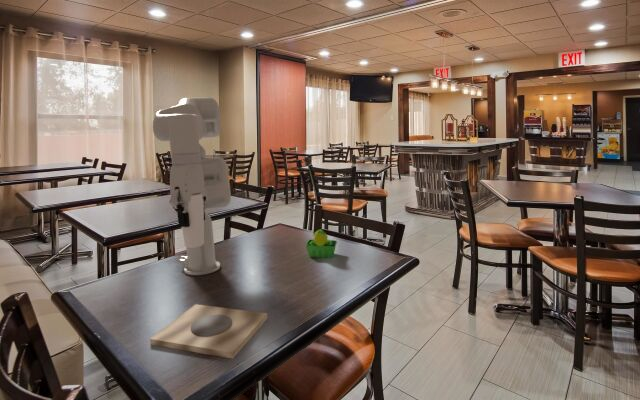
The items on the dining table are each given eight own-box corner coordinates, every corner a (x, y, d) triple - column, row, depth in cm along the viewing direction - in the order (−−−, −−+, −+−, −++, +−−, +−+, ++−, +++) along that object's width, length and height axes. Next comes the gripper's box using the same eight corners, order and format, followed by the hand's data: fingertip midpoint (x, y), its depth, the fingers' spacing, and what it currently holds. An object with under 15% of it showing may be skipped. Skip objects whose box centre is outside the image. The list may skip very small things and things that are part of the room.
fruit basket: (337, 252, 150) (337, 224, 148) (334, 260, 142) (333, 231, 139) (309, 251, 152) (308, 224, 150) (304, 259, 144) (303, 230, 142)
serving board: (150, 344, 90) (149, 337, 89) (195, 309, 107) (195, 303, 106) (233, 358, 83) (232, 351, 83) (267, 318, 100) (267, 312, 100)
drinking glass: (185, 242, 111) (180, 192, 109) (209, 241, 112) (204, 191, 109) (179, 249, 105) (173, 196, 102) (204, 248, 105) (199, 195, 102)
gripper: (193, 157, 113) (199, 215, 116) (152, 163, 97) (160, 230, 100) (215, 157, 111) (220, 216, 114) (177, 163, 94) (184, 232, 98)
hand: (192, 222), depth 107 cm, fingers closed on drinking glass, 6 cm apart
